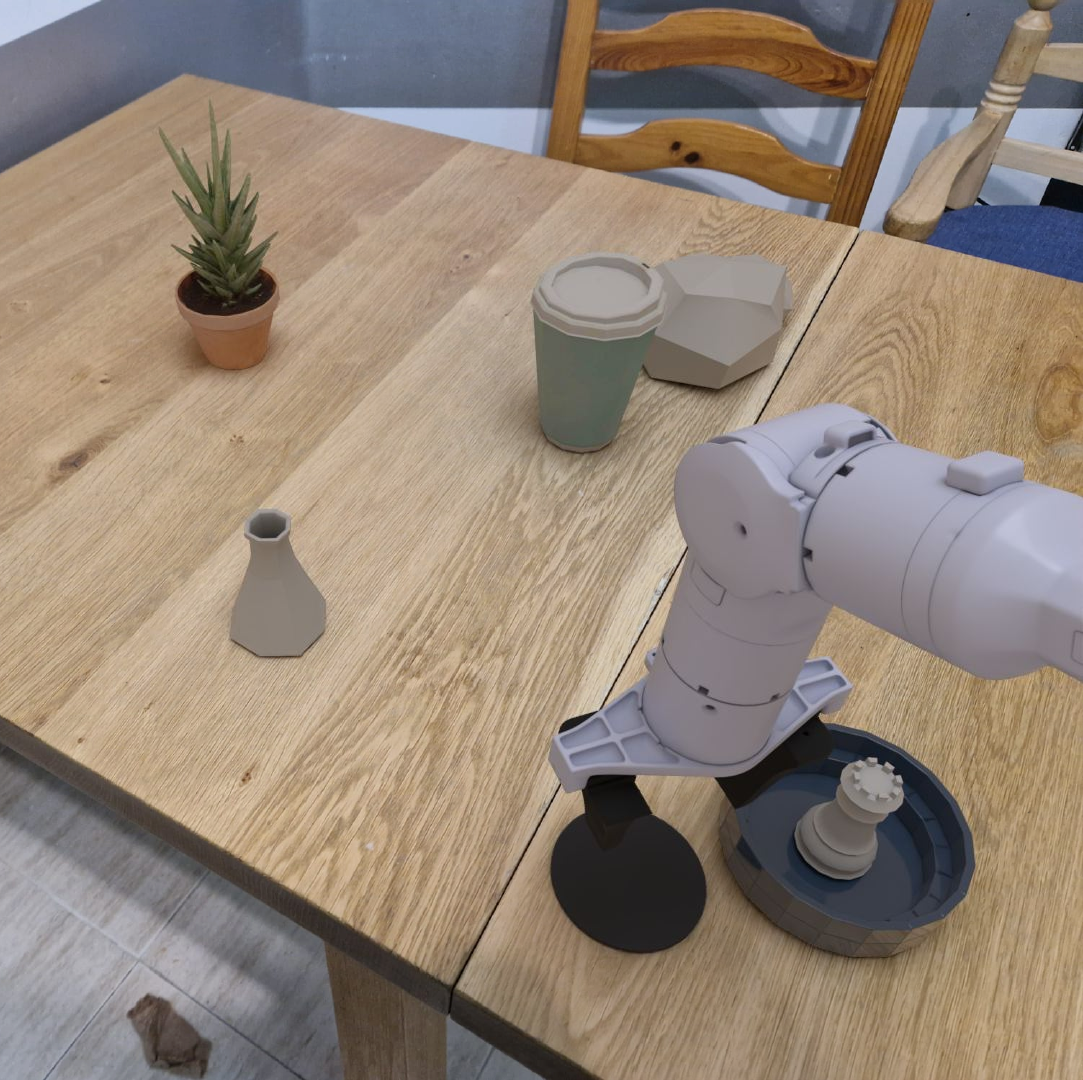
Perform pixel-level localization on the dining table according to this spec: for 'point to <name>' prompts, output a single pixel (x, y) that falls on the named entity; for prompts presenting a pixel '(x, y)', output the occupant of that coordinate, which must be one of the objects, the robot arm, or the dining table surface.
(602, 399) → the disposable coffee cup
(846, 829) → the rook chess piece
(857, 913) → the bowl
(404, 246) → the dining table surface
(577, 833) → the coaster
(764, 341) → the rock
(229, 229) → the potted plant
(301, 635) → the flask
